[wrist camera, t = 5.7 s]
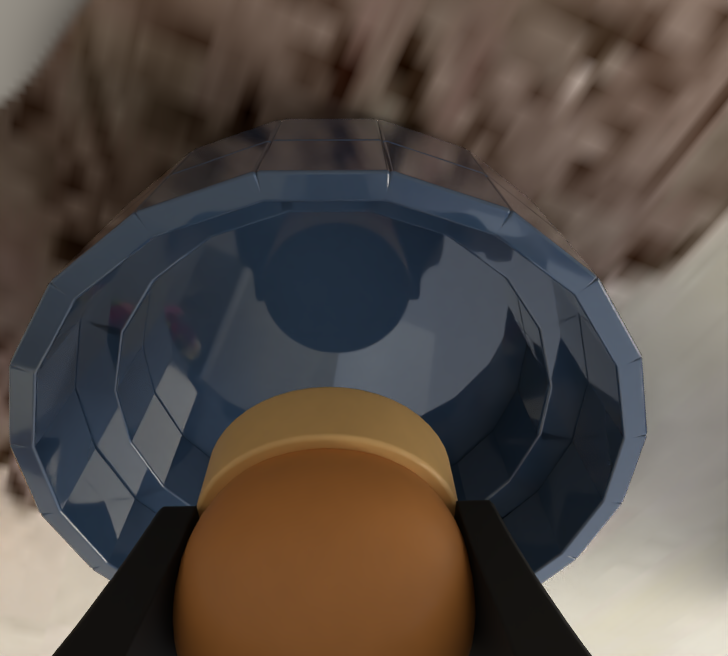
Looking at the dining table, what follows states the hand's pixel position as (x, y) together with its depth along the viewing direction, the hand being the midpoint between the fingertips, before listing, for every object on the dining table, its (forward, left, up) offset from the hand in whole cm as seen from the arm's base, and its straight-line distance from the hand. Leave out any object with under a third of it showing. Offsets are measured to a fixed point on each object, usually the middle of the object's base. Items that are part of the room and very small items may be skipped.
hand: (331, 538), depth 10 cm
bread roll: (0, 0, -1) cm, 1 cm away
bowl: (0, 0, -6) cm, 6 cm away
